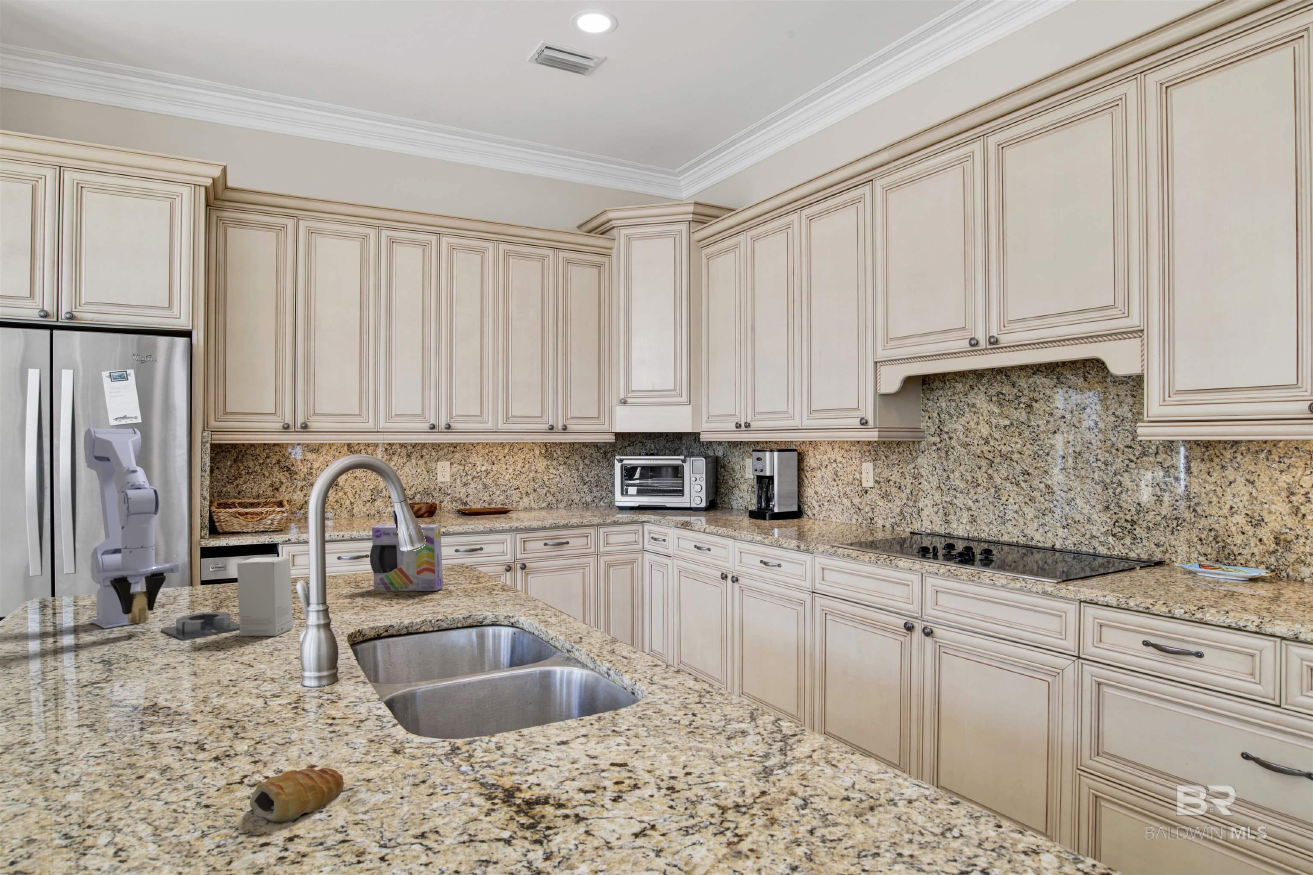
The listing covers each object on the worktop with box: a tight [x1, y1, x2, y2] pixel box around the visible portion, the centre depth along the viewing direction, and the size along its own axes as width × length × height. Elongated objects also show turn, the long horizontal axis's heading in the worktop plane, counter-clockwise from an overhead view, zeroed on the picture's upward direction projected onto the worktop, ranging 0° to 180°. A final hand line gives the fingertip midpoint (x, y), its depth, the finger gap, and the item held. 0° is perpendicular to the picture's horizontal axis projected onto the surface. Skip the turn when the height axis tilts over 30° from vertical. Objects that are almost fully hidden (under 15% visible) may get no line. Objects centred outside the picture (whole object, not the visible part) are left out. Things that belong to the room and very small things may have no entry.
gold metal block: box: [127, 590, 150, 625], centre depth 154 cm, size 5×4×6 cm
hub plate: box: [160, 611, 240, 641], centre depth 158 cm, size 12×12×3 cm
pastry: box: [249, 767, 345, 823], centre depth 83 cm, size 9×7×4 cm
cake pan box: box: [369, 523, 444, 592], centre depth 200 cm, size 19×5×18 cm, turn 80°
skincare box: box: [236, 556, 294, 637], centre depth 155 cm, size 8×7×16 cm
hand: (138, 611), depth 154 cm, fingers closed on gold metal block, 4 cm apart
